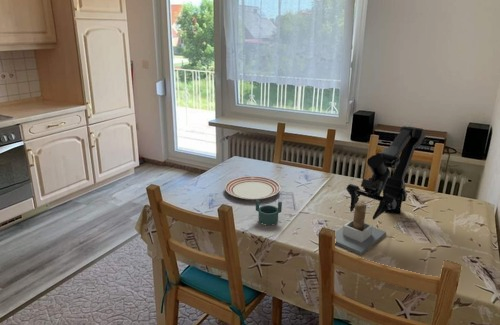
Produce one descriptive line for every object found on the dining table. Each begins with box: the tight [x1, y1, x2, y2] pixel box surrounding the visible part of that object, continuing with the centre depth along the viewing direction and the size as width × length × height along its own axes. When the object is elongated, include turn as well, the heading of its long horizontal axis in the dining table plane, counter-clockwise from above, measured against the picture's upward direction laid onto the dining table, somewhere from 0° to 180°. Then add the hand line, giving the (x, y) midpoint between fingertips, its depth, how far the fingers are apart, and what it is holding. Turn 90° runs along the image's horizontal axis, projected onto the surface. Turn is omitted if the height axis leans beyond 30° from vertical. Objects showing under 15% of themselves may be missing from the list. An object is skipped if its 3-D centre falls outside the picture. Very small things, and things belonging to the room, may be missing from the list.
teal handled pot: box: [255, 199, 283, 226], centre depth 150 cm, size 9×9×9 cm
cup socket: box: [334, 218, 387, 256], centre depth 138 cm, size 20×14×5 cm
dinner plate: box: [224, 175, 282, 201], centre depth 179 cm, size 27×27×3 cm
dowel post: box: [352, 202, 367, 231], centre depth 137 cm, size 4×4×12 cm
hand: (361, 215), depth 138 cm, fingers open, 9 cm apart
